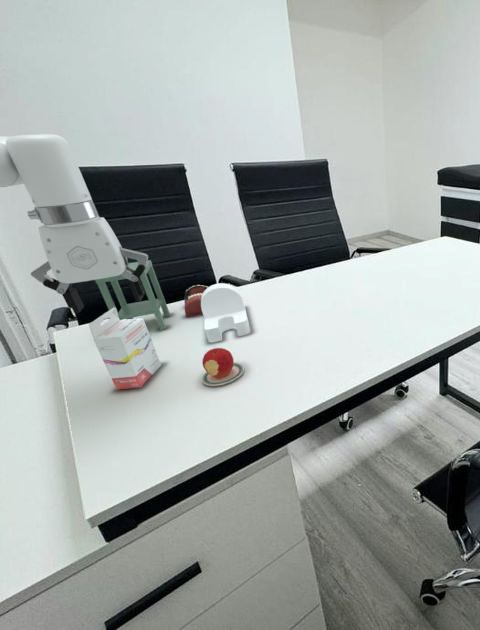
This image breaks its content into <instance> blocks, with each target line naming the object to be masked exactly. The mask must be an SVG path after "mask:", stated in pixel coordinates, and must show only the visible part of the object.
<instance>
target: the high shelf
mask: <svg viewBox="0 0 480 630" xmlns="http://www.w3.org/2000/svg"><path fill="white" fill-rule="evenodd" d="M128 266H129V267H131V268H132V269H134V270H136V268H137V267H138V261H135V262H128ZM147 274H148V275H147ZM148 276H149V278H148ZM126 279H127V278H125V277H123V276H122V275H118V276H113V277H108V278H102V279H96V280H94V281H95V283H96V284H97V286H98V289H99V291H100V293H101V296H102V298H103V300H104V302H105V304H106V307H107V309H108V311H109V310H111V309H112V308H114V307H115V308H116V310H117V313H118V316H119V319H120V320H126V319H135V318H138V317H139V318H140V317H144V316H149V315H154V317H155V320H156V322H157V325H158V328H159V330H160V331H162V330H166V329H167V325H166V323H165V320H164V318H168V317H170V316H171V313H170V309H169V307H168V305H167V302H166V299H165V296H164V293H163V291H162V288H161V286H160V283H159V281H158V278H157V275H156V272H155V270H154V267H153V262H152V260H151V259H149V260H147V265H146V269H145V270H144V272H143V273H142V275H141V276H140V277H139V279H140V281H141V284H142V286H143V289H144V291H145V295H146V297H147V299H148V300H143V301H142V300H141V301H140V302H137V301H135V302H131V303H127V300H126V298H125V296H124V293H123V290H122V289H121V286H120V284H119V281H121V280H122V281H123V280H126ZM149 279H150V280H149ZM127 280H128V279H127ZM106 282H110V285H111V286H112V289H113V291H114V294H115V296H116V298H117V300H118V304H119V305H120V309H119V311H118V309H117V307H116V305H115V302H114V300H113V297H112V294H111V293H110V291H109V289H108V286H107V284H106ZM150 282H151V284H152V286H151V284H150ZM152 287H153V288H152ZM153 289H154V291H153ZM154 292H155V294H154ZM155 295H156V296H155ZM156 297H157V298H156ZM160 309H161V310H162V312H161V310H160ZM162 313H163V315H162ZM163 316H164V317H163Z"/></svg>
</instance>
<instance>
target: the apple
mask: <svg viewBox="0 0 480 630" xmlns="http://www.w3.org/2000/svg"><path fill="white" fill-rule="evenodd" d="M201 362H202V367H203V369H204V371H205V372H204V373H203V375H201V382H202V384H204V385H205V386H210V387H215V386H216V387H217V386H222V385H226V384H229V383H231V382H234V381H235V380H237V379H238V378H240V377H241V376H242V375H243V374H244V371H245V368H244V365H242V364H241V363H240V362H239V363H238V362H235V361H234V357H233V355H232V353H231V351H229V350H228V349H226V348H222V347H216V348H212V349H209V350H207V351H206V352H205V353H204V355H203V357H202V361H201Z"/></svg>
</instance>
